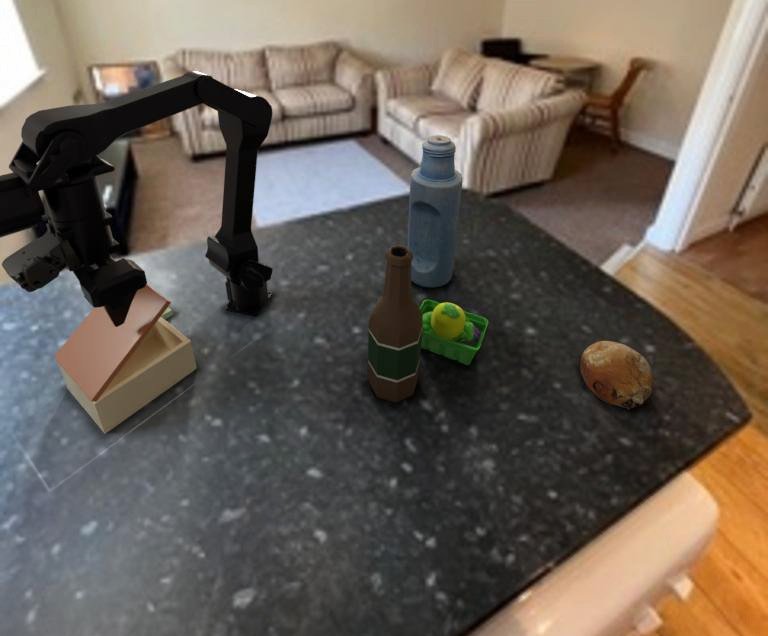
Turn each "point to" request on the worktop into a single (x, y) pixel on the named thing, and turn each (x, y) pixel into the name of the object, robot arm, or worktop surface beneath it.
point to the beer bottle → (395, 332)
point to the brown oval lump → (616, 374)
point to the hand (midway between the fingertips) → (105, 309)
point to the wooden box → (140, 376)
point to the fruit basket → (451, 331)
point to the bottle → (434, 213)
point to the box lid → (108, 342)
